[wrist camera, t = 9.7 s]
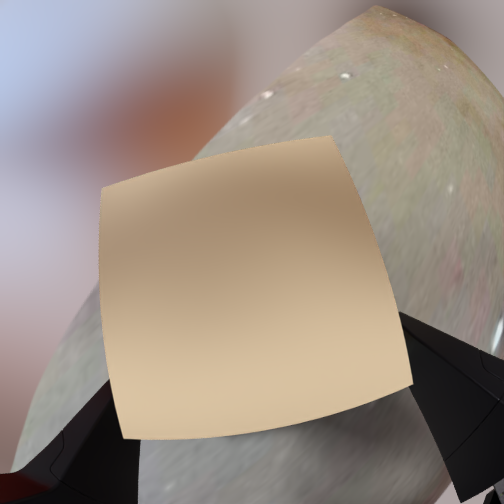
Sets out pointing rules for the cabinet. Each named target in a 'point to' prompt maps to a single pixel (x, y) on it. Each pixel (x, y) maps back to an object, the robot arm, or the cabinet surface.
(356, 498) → the cabinet surface
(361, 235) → the pine block
